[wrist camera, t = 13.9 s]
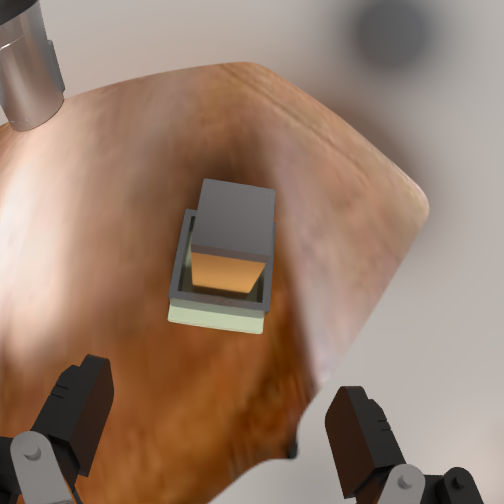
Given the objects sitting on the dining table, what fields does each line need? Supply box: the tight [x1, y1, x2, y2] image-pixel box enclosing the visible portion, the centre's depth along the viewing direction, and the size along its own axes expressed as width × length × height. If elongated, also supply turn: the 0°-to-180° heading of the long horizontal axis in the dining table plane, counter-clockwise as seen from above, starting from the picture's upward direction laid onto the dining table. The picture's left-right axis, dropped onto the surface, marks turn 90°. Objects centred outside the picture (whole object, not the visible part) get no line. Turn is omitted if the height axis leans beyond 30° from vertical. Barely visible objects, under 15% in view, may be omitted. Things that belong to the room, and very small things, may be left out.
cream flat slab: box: [168, 232, 264, 334], centre depth 28 cm, size 10×8×1 cm
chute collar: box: [168, 209, 276, 319], centre depth 26 cm, size 8×8×3 cm
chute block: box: [190, 178, 275, 299], centre depth 23 cm, size 4×4×10 cm
